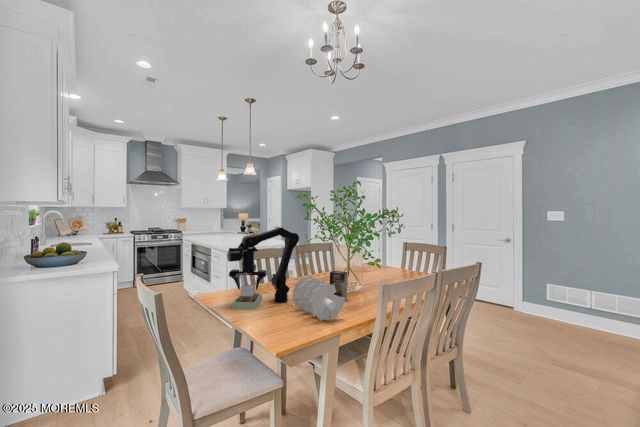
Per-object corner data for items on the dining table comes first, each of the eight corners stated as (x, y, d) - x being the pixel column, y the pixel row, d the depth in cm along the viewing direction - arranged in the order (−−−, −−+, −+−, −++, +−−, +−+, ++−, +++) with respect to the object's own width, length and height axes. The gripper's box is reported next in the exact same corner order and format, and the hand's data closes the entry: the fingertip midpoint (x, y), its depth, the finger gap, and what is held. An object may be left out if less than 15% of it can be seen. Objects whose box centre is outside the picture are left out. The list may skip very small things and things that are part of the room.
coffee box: (328, 300, 173) (329, 272, 173) (332, 297, 179) (333, 270, 179) (343, 302, 170) (344, 273, 170) (347, 299, 176) (347, 271, 176)
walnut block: (255, 303, 163) (255, 292, 162) (252, 308, 156) (252, 296, 155) (242, 303, 163) (243, 292, 162) (239, 307, 156) (239, 296, 155)
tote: (262, 300, 171) (262, 293, 170) (255, 310, 154) (255, 302, 153) (241, 300, 171) (241, 292, 171) (232, 310, 154) (232, 302, 154)
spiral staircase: (323, 332, 138) (295, 313, 158) (350, 310, 146) (321, 294, 167) (310, 300, 132) (283, 284, 153) (339, 279, 141) (310, 267, 161)
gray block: (254, 293, 162) (254, 284, 162) (252, 296, 156) (252, 287, 156) (243, 292, 162) (243, 284, 162) (240, 296, 156) (240, 287, 156)
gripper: (268, 257, 167) (268, 286, 167) (235, 257, 167) (234, 285, 167) (264, 261, 155) (264, 291, 156) (228, 260, 156) (228, 290, 156)
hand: (248, 289), depth 159 cm, fingers open, 9 cm apart
